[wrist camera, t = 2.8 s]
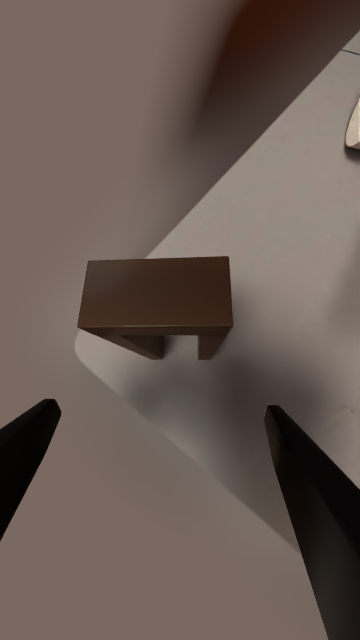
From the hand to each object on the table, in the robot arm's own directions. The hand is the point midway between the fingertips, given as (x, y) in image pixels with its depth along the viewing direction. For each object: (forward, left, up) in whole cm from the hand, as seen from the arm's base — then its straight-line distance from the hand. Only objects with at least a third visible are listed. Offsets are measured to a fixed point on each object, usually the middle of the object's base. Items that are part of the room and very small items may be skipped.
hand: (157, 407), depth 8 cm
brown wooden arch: (+4, +2, -11) cm, 12 cm away
